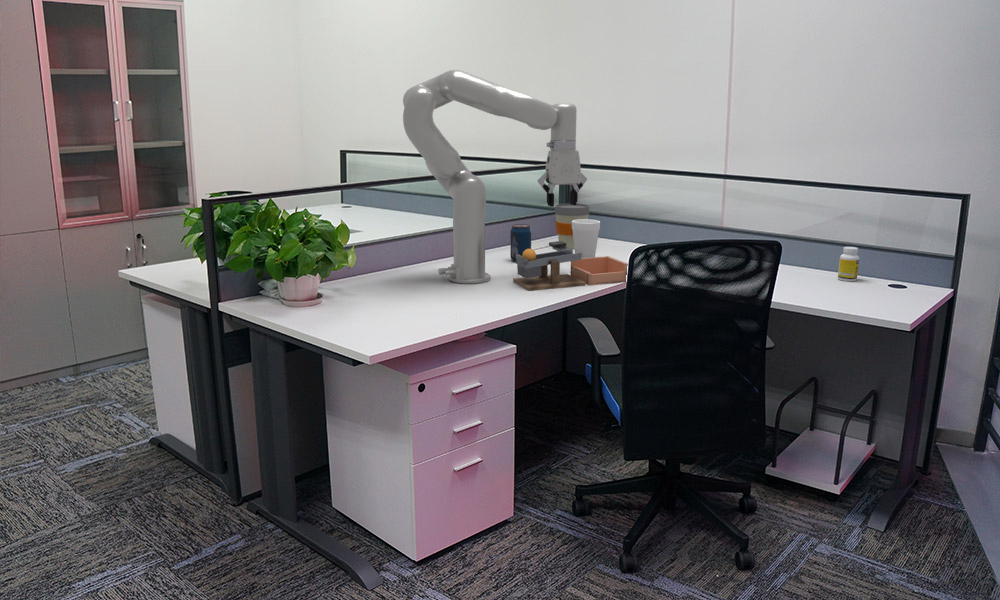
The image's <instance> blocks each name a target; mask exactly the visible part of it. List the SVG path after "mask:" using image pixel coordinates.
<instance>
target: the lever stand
mask: <svg viewBox="0 0 1000 600" xmlns="http://www.w3.org/2000/svg"><path fill="white" fill-rule="evenodd" d="M548 266H549V265H544V266H541V276H538V277H531V278H524V277H518V278H517V277H516V278H512V283H514V284H516V285H518V286H520V287H521V288H523V289H525V290H527V291H528V292H530V291H539V290H541V291H542V290H551V289H563V288H573V287H574V288H575V287H584V286H586V284H585V282H584V281H582V280H580V279H577V278H575V277H573V276H571V274H569V273H560V272H561V263H560V262H559V261H552V262H551V265H550V274H549V275H548V273H549V271H548V268H549V267H548Z"/></svg>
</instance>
